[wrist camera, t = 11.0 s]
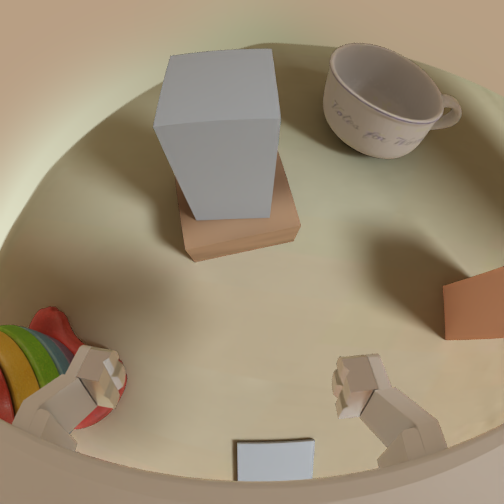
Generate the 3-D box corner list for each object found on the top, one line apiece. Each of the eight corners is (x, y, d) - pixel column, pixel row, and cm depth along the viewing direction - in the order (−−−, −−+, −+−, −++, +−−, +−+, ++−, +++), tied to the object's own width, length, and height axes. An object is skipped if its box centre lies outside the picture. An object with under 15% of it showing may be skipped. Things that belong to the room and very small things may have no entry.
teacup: (305, 151, 26) (322, 91, 18) (323, 80, 29) (337, 26, 21) (434, 198, 25) (480, 159, 17) (431, 122, 28) (462, 80, 20)
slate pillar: (199, 159, 21) (170, 55, 12) (266, 156, 21) (271, 48, 12) (196, 220, 20) (152, 127, 10) (269, 217, 20) (281, 118, 10)
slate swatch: (237, 441, 19) (237, 443, 19) (313, 439, 20) (314, 440, 19) (238, 498, 18) (238, 500, 18) (309, 495, 18) (310, 497, 18)
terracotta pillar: (442, 285, 23) (519, 260, 13) (477, 283, 23) (549, 259, 13) (445, 340, 21) (524, 336, 12) (480, 332, 22) (554, 324, 12)
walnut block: (181, 177, 25) (172, 153, 22) (269, 159, 26) (272, 133, 22) (195, 263, 23) (185, 250, 20) (292, 242, 24) (300, 225, 20)
